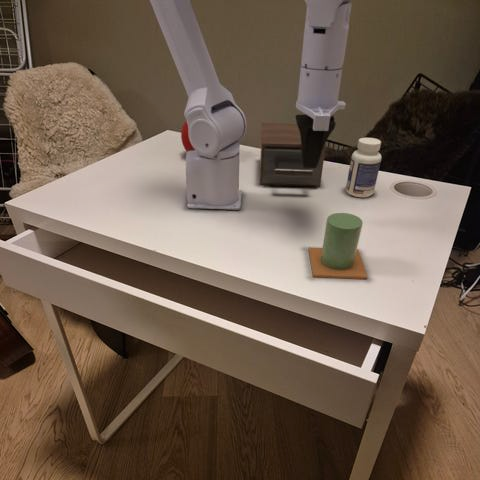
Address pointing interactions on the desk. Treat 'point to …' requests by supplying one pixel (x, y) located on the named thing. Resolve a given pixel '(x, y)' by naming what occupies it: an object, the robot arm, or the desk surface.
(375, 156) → the pill bottle
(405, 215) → the desk surface
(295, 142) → the cabinet
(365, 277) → the coaster
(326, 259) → the tin
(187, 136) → the apple
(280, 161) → the drawer
